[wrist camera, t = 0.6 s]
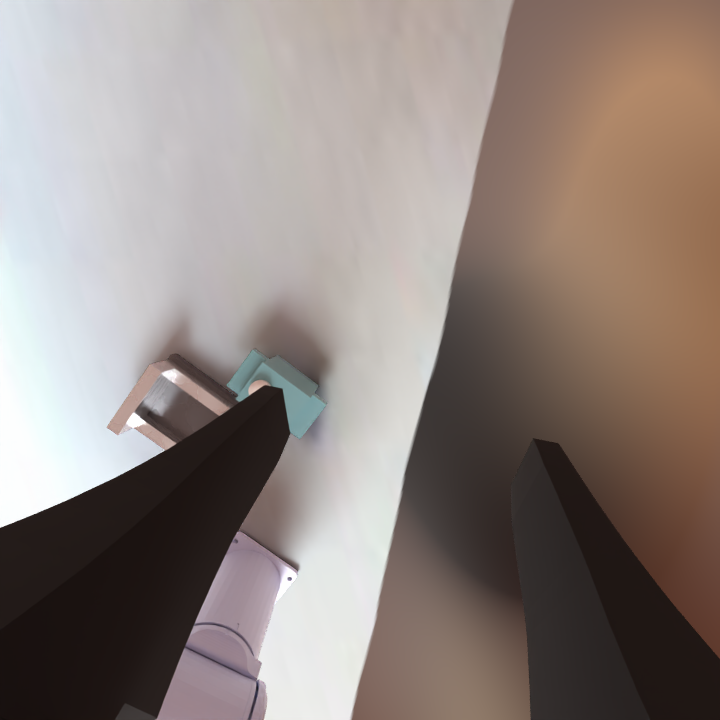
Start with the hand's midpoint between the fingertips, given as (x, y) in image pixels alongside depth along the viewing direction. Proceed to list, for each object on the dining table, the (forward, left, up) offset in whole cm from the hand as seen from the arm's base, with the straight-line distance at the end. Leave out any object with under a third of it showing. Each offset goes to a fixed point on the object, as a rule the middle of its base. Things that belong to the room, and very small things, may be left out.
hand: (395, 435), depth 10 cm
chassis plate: (-16, +11, -23) cm, 30 cm away
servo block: (-8, +5, -23) cm, 25 cm away
